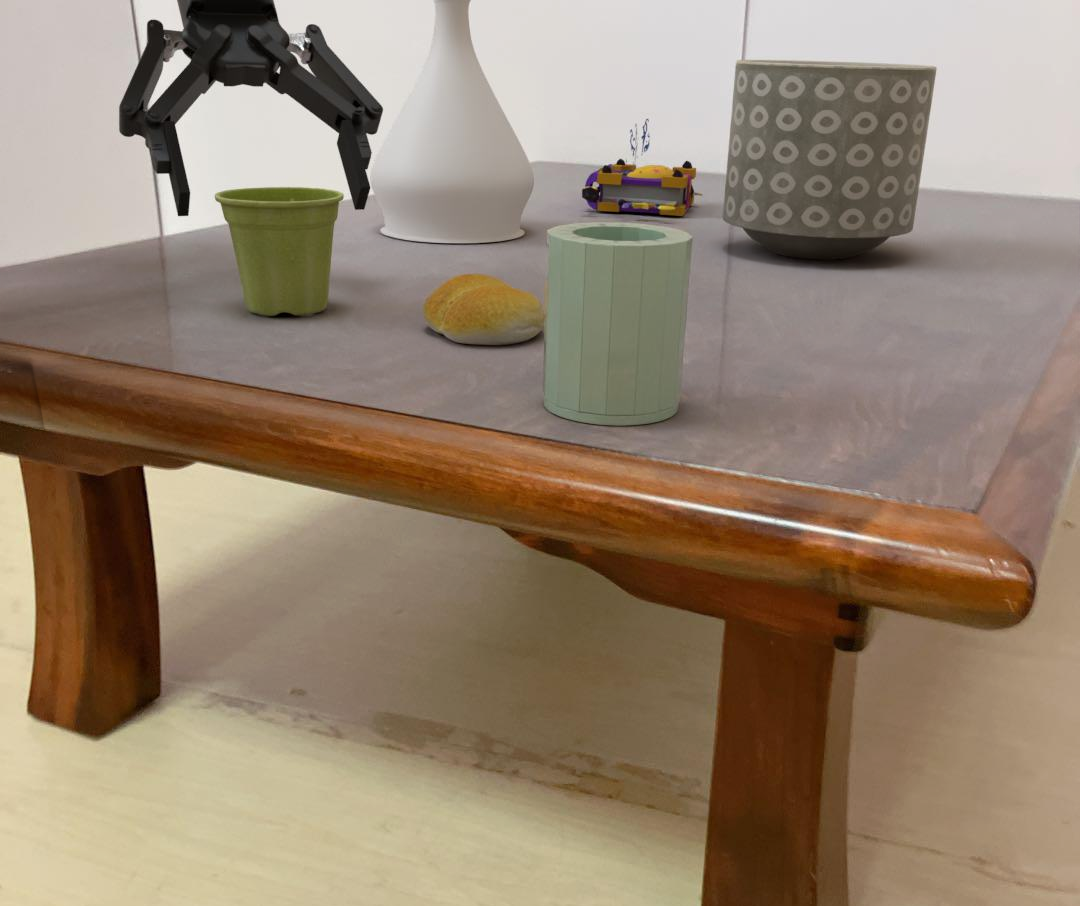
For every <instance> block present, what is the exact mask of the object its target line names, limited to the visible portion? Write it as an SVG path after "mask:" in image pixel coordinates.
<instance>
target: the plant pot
mask: <svg viewBox="0 0 1080 906" xmlns="http://www.w3.org/2000/svg"><path fill="white" fill-rule="evenodd" d="M344 196H345V195H344V193H343V192H341V191H338V190H335V189H327V188H319V187H302V186H270V187H269V186H268V187H245V188H235V189H227V190H222V191H219V192H216V193H215V194H214V199H215V202H217V203H220V207H221V211H222V214H223V218H224V221H225V222H226V223H227V224H228V228H229V232H230V237H231V242H232V247H233V251H234V255H235V259H236V264H237V268H238V272H239V279H240V282H241V288H242V292H243V297H244V303H245V306H246V309H247V311H248V312H250V313H253V314H256V315H262V316H265V317H273V316H274V317H275V316H277V315H279V314H281V313H288V314H291V315H293V316H296V317H297V316H299V317H302V316H308V315H311V314H312V315H313V314H317V313H320V312H323V311H325V310H326V309H327V306H328V304H329V303H328V302H329V292H330V280H331V279H330V278H331V265H332V254H333V253H332V252H333V243H334V242H333V241H334V231H335V222H336V221H337V219H338V215H339V205H340V202H342V201H343V200H344Z"/></svg>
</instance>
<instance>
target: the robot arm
mask: <svg viewBox="0 0 1080 906" xmlns="http://www.w3.org/2000/svg"><path fill="white" fill-rule="evenodd" d="M176 2H177V6H178V11H179V14H180V15H179V16H180V20H181V23H182V27H183V28H182V31H181V30H173V29H164V24H163V23H162V22H161V20H158V19H149V20H148V21H147V23H146V45H145V47H144V50H143V52H142V54H141V56H140V58H139V60H138V63H137V65H136V68H135V69H134V72H133V74H132V77H131V79H130V81H129V83H128V86H127V87H126V90H125V92H124V94H123V97H122V98H121V101H120V103H119V107H118V131H119V133H120V134H121V135H122V136H123V137H127V138H130V137H131V138H132V137H134V136H135V135H136V136H139V137H141V138H144V140H145V141H144V144H145V147H146V148H147V149H148V151H149V156H150V161H151V165H152V169H153V171H154V172H155V173H156V174H157V175H162V174H163V175H165V174H168V176H169V181H170V186H171V190H172V195H173V200H174V204H175V208H176V213H177V217H189V213H190V201H191V190H190V185H189V180H188V175H187V172H186V167H185V163H184V158H183V155H182V150H181V145H180V141H179V137H178V132H177V128H176V125H177V123H178V122H179V121H180V120H181V118H182V117H183V116H184V115H185V113H187V111H188V110H189V109H190V108H191V107H192V106H193V104H194V103H196V101H197V100H198V99H199V97H200V96H201V95H202V94H203V95H205V94H207V92H208V91H209V90H210V89H211V88H212V86H213V85H214V84H215V83H216V82H218V83H220V84H222V85H223V87H238V86H242V85H243V86H249V87H256V88H257V87H258V88H259V87H260V88H261V87H262V88H263V87H264V84H266V85H267V86H268V87H270V88H272V89H273V90H274V91H276V92H277V93H278V94H280V95H285V94H286V95H287V96H288V97H290V98H291V99H293V100H294V101H296V103H298V104H299V105H301V106H302V107H303V108H304V109H306V110H307V111H308V112H310V113H311V114H313V115H314V116H315V117H317V118H318V119H319V120H321V121H322V122H323V123H325V125H326V126H328V127H329V128H331V129H332V130H333V131H335V132H336V133H338V137H337V141H336V147H337V149H338V150H337V151H338V153H339V158H340V161H341V164H342V167H343V171H344V176H345V179H346V182H347V186H348V189H349V194H350V197H351V200H352V205H353V208H354V210H355V211H358V210H359V211H360V210H365V208H366V206H367V205H366V204H367V202H368V198H369V194H370V191H371V183H370V179H369V177H368V173H367V170H368V169H369V165H370V162H371V158H372V154H373V152H372V149H371V145H370V141H369V138H368V135H371V136H373V135H376V134H378V130H379V127H380V124H381V119H382V116H383V112H384V107H383V105H382V104H381V103H380V101H378V100H377V99H376V98H375V96H374V95H373V94H372V93H371V92H370V91H369V90H368V88H366V86H365V85H364V84H363V83H362V82H361V80H359V79H358V77H357V76H356V75H355V74H354V73H353V72H352V71H351V70H350V69H349V68H348V67H347V66H346V64H345V63H344V61H342V60H341V58H340V57H339V56H338V55H337V54H336V53H335V52H334V51H333V50H332V48H331V47H330V46H329V45H328V43H327V41H326V39H325V38H326V37H325V36H324V33H323V31H322V30H321V28H320V26H318V25H317V24H314V23H310V24H308V25H307V26H306V27H305V32H298V33H288V32H287V31H286V30H285V28H283V26H282V25H281V24H280V21H279V20H280V19H279V16H278V12H277V8H276V5H275V1H274V0H176ZM179 50H180V51H181V50H182V52H183V54H184V55H185V56H186V57H187V58H188V59H190V61H189V63H188V64H187V65H186V66H185V67H184V69H183V70H182V71H181V72H180V73H179V74H178V75H177V77H176V78H175V79H174V80H173V81H172V82H171V84H169V85H168V86H167V88H166V89H165V90H164V91H163V92H162V93H161V95H160V96H159V97H158V98H157V99H156V101H154V103H153V104H152V105H151V106H150V107H149V108H148V106H149V103H150V101H151V99H152V96H153V94H154V92H155V89H156V87H157V85H158V82H159V80H160V78H161V76H162V73H163V69H164V63H169V62H170V59H172V58H173V57H174V56H175V53H176V52H177V51H179ZM295 54H296V55H297V56H298V57H299V59H300V63H301V64H302V65H301V64H300V63H299V61H298V58H297V56H296V55H295ZM303 65H307V66H308V68H309V69H310V71H309V70H307V69H306V67H303ZM278 70H279V72H278ZM147 108H148V110H147ZM146 110H147V111H146Z"/></svg>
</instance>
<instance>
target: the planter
mask: <svg viewBox="0 0 1080 906" xmlns="http://www.w3.org/2000/svg"><path fill="white" fill-rule="evenodd" d="M734 68H735V69H734V79H733V80H734V81H733V89H732V90H733V91H732V92H733V93H732V104H731V116H730V125H729V139H728V149H727V150H728V151H727V160H726V161H727V162H726V173H725V184H724V196H723V207H722V208H723V209H722V221H724V222H725V223H726V224H729V225H732V226H734V227H739V228H741V229H742V230H743V231H744V232H745V233H746V235H747V236H749V238H750V239H752V240H753V241H754V242H756V243H757V244H759V245H760V246H762V247H764V248H765V249H767V250H769V251H771V252H773V253H775V254H778V255H781V256H785V257H790V258H796V259H805V260H820V261H821V260H822V261H825V260H827V261H831V260H833V261H834V260H845V259H850V258H853V257H856V256H859V255H862V254H864V253H866V252H869V251H871V250H873V249H875V248H877V247H879V246H880V245H882V244H883V243H885V242H886V241H887V240H888V239H890V238H892V237H899V236H902V235H906V234H910V233H911V232H913V230H914V225H915V217H916V210H917V205H918V198H919V197H918V196H919V191H920V184H921V183H920V182H921V178H922V177H921V176H922V170H923V163H924V158H925V157H924V156H925V149H926V144H927V137H928V130H929V122H930V116H931V111H932V103H933V96H934V91H935V82H936V77H937V69H938V68H937V66H935V65H923V64H922V65H921V64H907V63H906V64H905V63H904V64H903V63H886V62H885V63H884V62H883V63H882V62H881V63H880V62H855V61H827V60H821V61H820V60H793V59H792V60H790V59H789V60H788V59H787V60H786V59H737V60H736V61H735V66H734Z"/></svg>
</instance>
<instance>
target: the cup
mask: <svg viewBox="0 0 1080 906" xmlns="http://www.w3.org/2000/svg"><path fill="white" fill-rule="evenodd" d="M692 249H693V236H692V235H691V234H690V233H688V232H687V231H684V230H681V229H679V228H674V227H669V226H662V225H657V224H656V225H655V224H648V223H647V224H646V223H633V222H605V221H598V222H597V221H595V222H594V221H593V222H574V223H568V224H561V225H555V226H553V227H551V228H549V229H547V230H546V255H545V256H546V257H545V258H546V259H545V260H546V262H545V295H544V315H545V319H544V327H543V364H542V365H543V367H542V368H543V369H542V394H543V399H542V402H543V406H544V408H545V409H546V410H548V412H550V413H552V414H553V415H555V416H557V417H561V418H563V419H566V420H570V421H574V422H578V423H584V424H590V425H600V426H620V427H621V426H623V427H624V426H626V427H627V426H640V425H641V426H642V425H648V424H649V425H650V424H654V423H658V422H662V421H665V420H668V419H670V418H672V417H673V416H675V415H676V414H677V412H678V411H679V405H680V400H681V395H682V381H683V380H682V379H683V370H684V369H683V368H684V357H685V356H684V354H685V342H686V341H685V340H686V328H687V317H688V315H687V314H688V304H689V303H688V301H689V290H690V289H689V288H690V275H691V262H692V251H693V250H692Z"/></svg>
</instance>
